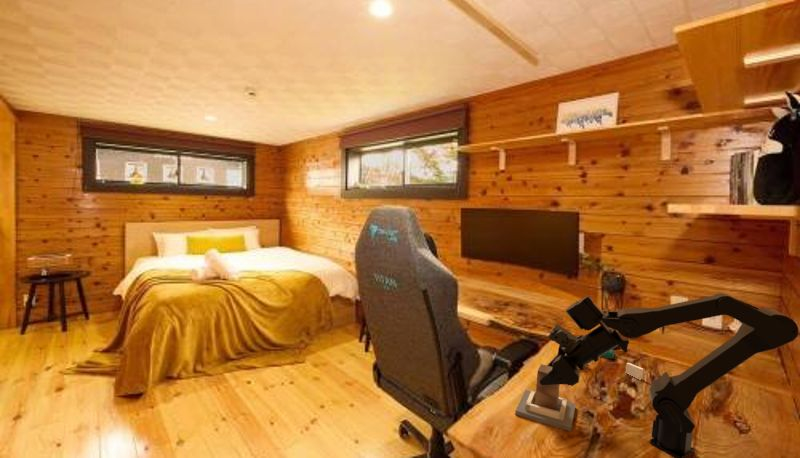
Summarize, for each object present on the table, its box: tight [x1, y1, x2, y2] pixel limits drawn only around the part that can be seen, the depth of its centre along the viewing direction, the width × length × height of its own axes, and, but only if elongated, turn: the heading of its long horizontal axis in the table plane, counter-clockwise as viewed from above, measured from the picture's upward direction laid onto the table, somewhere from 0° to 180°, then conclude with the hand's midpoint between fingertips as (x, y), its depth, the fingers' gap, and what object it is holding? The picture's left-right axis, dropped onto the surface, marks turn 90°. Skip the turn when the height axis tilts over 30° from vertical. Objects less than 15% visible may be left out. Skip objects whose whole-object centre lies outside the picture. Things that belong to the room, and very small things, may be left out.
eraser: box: [625, 362, 644, 381], centre depth 123 cm, size 1×5×4 cm, turn 24°
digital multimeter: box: [599, 349, 615, 360], centre depth 143 cm, size 7×15×3 cm, turn 66°
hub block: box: [535, 363, 561, 411], centre depth 98 cm, size 5×5×10 cm
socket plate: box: [514, 389, 576, 432], centre depth 99 cm, size 13×13×2 cm
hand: (543, 376), depth 99 cm, fingers open, 9 cm apart
